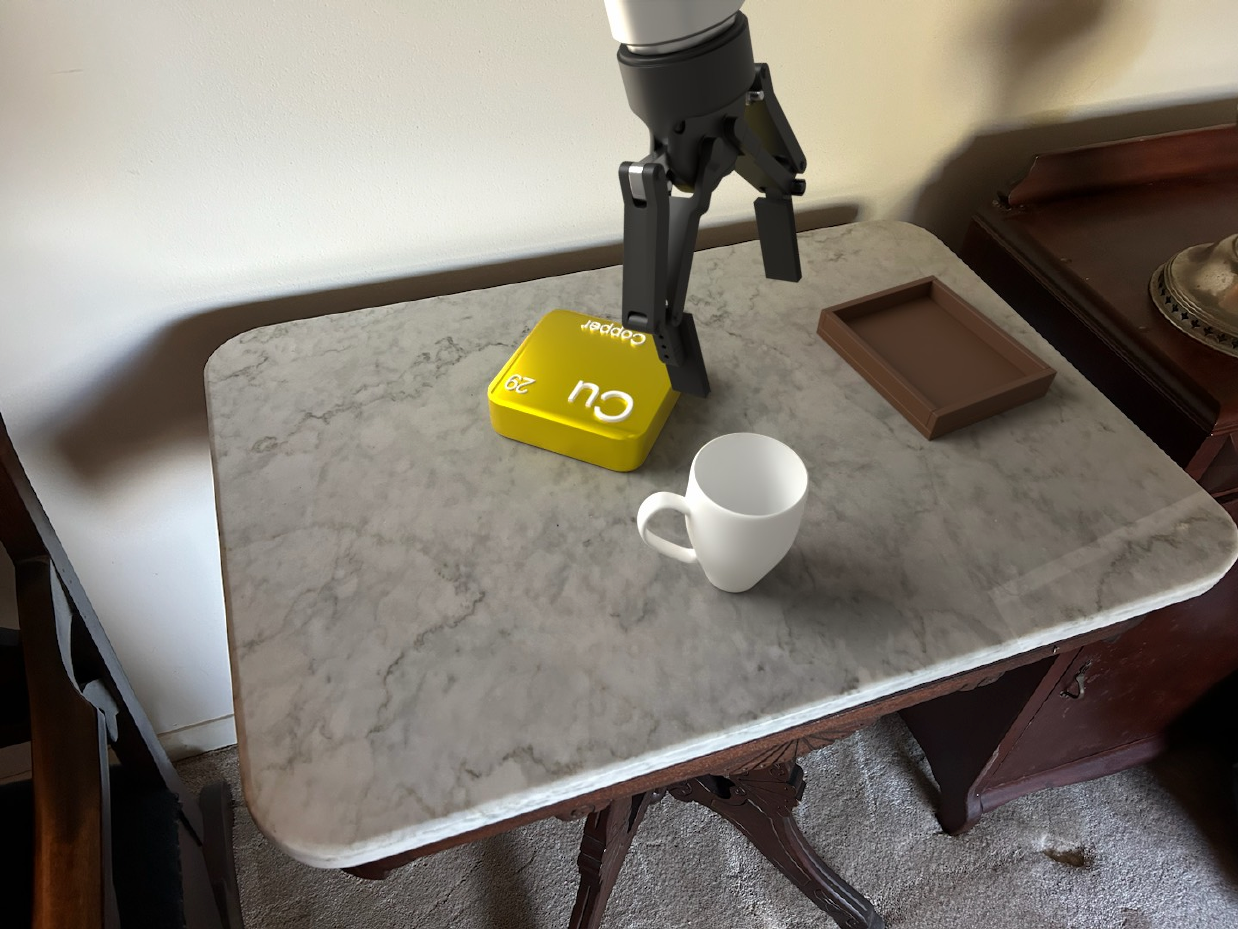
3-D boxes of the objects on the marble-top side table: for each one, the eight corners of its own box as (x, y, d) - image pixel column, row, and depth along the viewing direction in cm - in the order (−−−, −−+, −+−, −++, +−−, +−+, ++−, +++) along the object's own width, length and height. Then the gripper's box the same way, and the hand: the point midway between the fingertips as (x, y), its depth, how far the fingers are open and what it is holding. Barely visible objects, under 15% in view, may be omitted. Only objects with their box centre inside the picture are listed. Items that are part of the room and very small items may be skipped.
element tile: (691, 375, 83) (695, 336, 79) (636, 479, 73) (637, 440, 70) (553, 337, 87) (551, 299, 83) (483, 431, 77) (477, 392, 73)
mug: (766, 523, 70) (788, 424, 62) (799, 606, 65) (828, 509, 56) (624, 543, 68) (627, 444, 60) (646, 630, 63) (653, 534, 55)
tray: (1045, 395, 82) (1058, 371, 80) (928, 441, 77) (937, 417, 75) (925, 297, 92) (933, 274, 90) (815, 332, 88) (821, 309, 86)
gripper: (731, -54, 55) (774, 232, 69) (489, 133, 43) (602, 432, 57) (839, -66, 51) (861, 242, 65) (604, 138, 39) (695, 460, 53)
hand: (740, 331), depth 61 cm, fingers open, 13 cm apart
